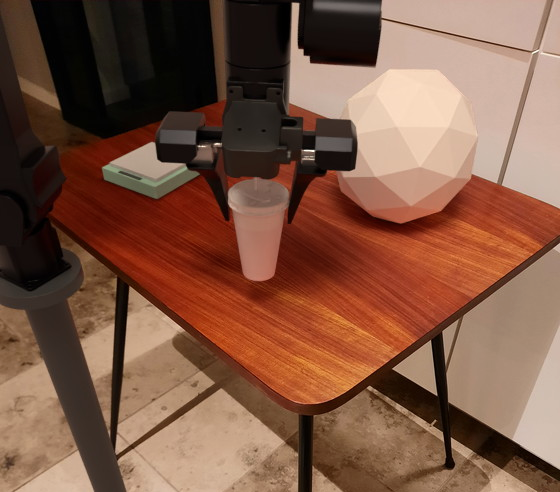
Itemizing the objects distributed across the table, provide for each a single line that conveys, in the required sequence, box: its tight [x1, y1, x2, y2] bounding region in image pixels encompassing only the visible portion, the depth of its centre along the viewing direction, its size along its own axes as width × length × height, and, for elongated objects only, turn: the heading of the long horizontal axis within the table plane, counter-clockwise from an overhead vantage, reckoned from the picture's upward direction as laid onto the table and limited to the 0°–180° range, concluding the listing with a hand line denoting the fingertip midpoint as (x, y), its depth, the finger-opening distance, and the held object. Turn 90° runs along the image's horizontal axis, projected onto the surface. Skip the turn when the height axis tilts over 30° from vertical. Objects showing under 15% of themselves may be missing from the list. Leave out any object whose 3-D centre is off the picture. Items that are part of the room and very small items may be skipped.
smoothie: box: [228, 177, 290, 282], centre depth 59 cm, size 6×6×14 cm
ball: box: [335, 68, 479, 224], centre depth 76 cm, size 19×20×20 cm
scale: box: [101, 141, 201, 200], centre depth 88 cm, size 11×11×3 cm
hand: (258, 221), depth 59 cm, fingers closed on smoothie, 6 cm apart
